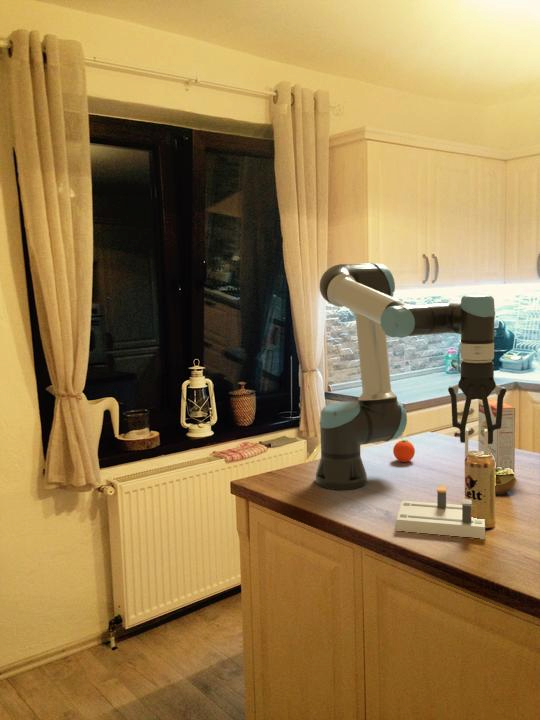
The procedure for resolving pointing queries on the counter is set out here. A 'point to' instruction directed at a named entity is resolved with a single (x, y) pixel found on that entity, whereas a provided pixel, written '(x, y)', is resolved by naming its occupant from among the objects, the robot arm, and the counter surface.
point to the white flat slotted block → (437, 520)
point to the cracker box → (499, 434)
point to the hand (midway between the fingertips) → (476, 455)
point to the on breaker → (466, 510)
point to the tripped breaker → (441, 497)
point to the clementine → (404, 451)
